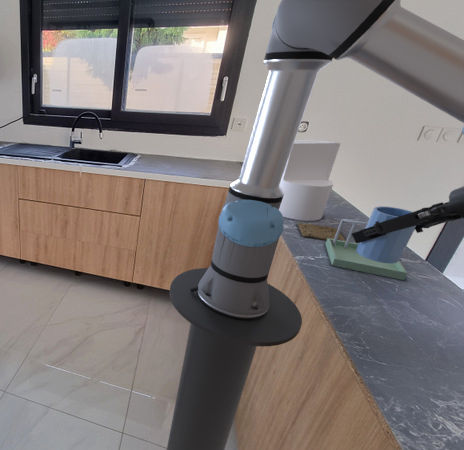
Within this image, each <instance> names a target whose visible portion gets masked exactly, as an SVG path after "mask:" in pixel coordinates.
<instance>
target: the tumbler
mask: <svg viewBox="0 0 464 450" xmlns="http://www.w3.org/2000/svg"><path fill="white" fill-rule="evenodd" d="M412 212H413V211H411V210H408V209H405V208H399V207H395V206H394V207H393V206H383V205H380V206H375V207H374V208H373V209H372V212H371V214H370V216H369V219H368V221H367V225H365V227H366V228H369V227H372V226H374V224H376V223H375V222H376V221H379V223H380V222H383V221H387V220H390V219H393V218H396V217H399V216H402V215H406V214H409V213H412ZM365 227H364V229H366V228H365ZM415 228H416V226H413V227H409V228H405V229H401V230H398V231H394V232H390V233H387V234H386V235H383V236H380V237H377V238H373V239H370V240H367V241H364V242H360V243H358V246H357V249H356V252H357V253H358V254H359V255H361V256H363V257H365V258H368V259H370V260H373V261H377V262H382V263H397V262H398V261H399V262H400V259H401V258H402V256H403V254H404V252H405V250H406V248H407V246H408V244H409V242H410V240H411V238H412V236H413V234H414V232H415V231H416V230H415Z"/></svg>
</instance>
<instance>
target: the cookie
mask: <svg viewBox="0 0 464 450" xmlns="http://www.w3.org/2000/svg"><path fill="white" fill-rule="evenodd" d="M297 225H298V229H299V231H300V234H301V236H302V237H305V238H313V239H314V238H315V239H317V240H319V239H320V240H324V241H327V238H329V239H334V238H335V235H336V232H337V230H338V228H337V227H334V226H327V225H326V226H325V225H318V224H312V223H308V222H306V223H305V222H298V223H297ZM337 240H340V241H346V240H347V239H345V237H344V235H342V233H341V232H340V234H339V236H338V239H337Z"/></svg>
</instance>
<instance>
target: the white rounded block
mask: <svg viewBox="0 0 464 450" xmlns="http://www.w3.org/2000/svg"><path fill="white" fill-rule="evenodd" d="M340 146H341V142H337V141H331V140H320V139H295V141H294V144H293V147H292V150H291V153H290V156H289V159H288V161H287V164H286V167H285V170H284V173H283V176H282V179H281V182H280V188H281V189H282V190H283V192H284V196H283V199H282V202H281V205H280V208H279V211H280V212H281V213H282V215H283V218H287V219H290V220H296V221H302V222H303V221H304V222H305V221H306V222H312V221H313V222H314V221H319V220H322V218H323V215H324V213H325V210H326V206H327V205H328V204H327V203H328V202H329V198H330V196H331V193H332V189H333V187H334V182H333V181H332V180H329V179H330V176H331V173H332V170H333V166H334V164H335V161H336V158H337V155H338V153H339V150H340Z"/></svg>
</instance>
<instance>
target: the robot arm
mask: <svg viewBox="0 0 464 450" xmlns="http://www.w3.org/2000/svg"><path fill="white" fill-rule="evenodd" d="M276 10H277V11H276V14H275V16H274V18H273V21H272V25H271V34H270V37H269V40H268V44H267V48H266V51H265V56H264V58H263V64H264V65H265V67H266V68H267V69H268V74H267V77H266V81H265V85H264V88H263V92H262V96H261V99H260V102H259V106H258V108H257V112H256V116H255V120H254V123H253V127H252V131H251V134H250V138H249V141H248V145H247V147H246V152H245V155H244V159H243V163H242V166H241V169H240V173H239V176H238V178H237V179H236V180H234V181H232V182H231V183H230V184H229V188H228V191H227V194H226V198H225V202H224V203H223V206H222V209H221V212H220V214H219V217H218V222H217V223H218V225H217V229H216V236H215V241H214V246H213V251H212V256H211V261H210V265H209V267H207V268H208V270H207V271H206V273H205V274H204V276H203V277H202V279H201V280H200V282H199V284H198V287H194V288H190V290H191V292H194V291H197V296H198V298H199V300H200V301H201V302H202V303H203V304H204V305H205V306H206V307H207V308H209V309H210V310H212V311H214V312H216V313H218V314H220V315H222V316H225V317H228V318H232V319H236V320H245V321H250V320H257V319H260V318H262V317H264V316H265V315H266V314H267V312H268V309H269V304H270V299H269V291H268V284H269V283H268V278H269V274H270V271H271V267H272V264H273V261H274V258H275V254H276V250H277V248H278V244H279V240H280V237H281V236H282V234H283V233H284V222H285V220H284V219H285V217H283V215H282V213H281V212H280V211H279V208H280V205H281V202H282V199H283V196H284V192H283V190H282V189H281V188H280V182H281V179H282V176H283V173H284V170H285V167H286V164H287V161H288V159H289V156H290V153H291V150H292V147H293V144H294V141H295V140H296V139H297V136H298V132H299V129H300V126H301V123H302V120H303V118H304V115H305V112H306V109H307V107H308V104H309V100H310V97H311V94H312V91H313V89H314V85H315V83H316V80H317V77H318V74H319V72H320V71H321V70H322V69H324V68H325V67H327V66H329V65H330V64H331V63H332V62H333V59H334V60H336V61H339V60H343V59H351V60H352V61H354V62H356V63H358V64H359V65H361V66H362V67H365V68H366V69H367V70H370V71H371V72H373V73H375V74H376V75H378V76H380V77H382V78H384V79H385V80H387V81H389V82H391V83H393V84H394V85H396V86H398V87H399V88H401V89H403V90H404V91H407V92H408V93H410V94H412V95H414V96H415V97H417V98H419V99H420V100H422V101H424V102H426V103H428V104H429V105H431V106H432V107H434V108H436V109H438V110H439V111H441V112H444V113H445V114H447V115H449V117H452V118H453V119H456V120H458V121H459V122H461V123H462V124H464V39H463V38H461V37H459V36H457V35H455V34H453V33H451V32H449V31H448V30H446V29H444V28H442V27H440V26H438V25H436V24H435V23H432V22H431V21H428V20H427V19H425V18H423V17H421V16H420V15H418V14H415V13H414V12H412V11H411V10H408V9H406V8H404V7H402V5H401V0H280V3H279V5H278V7H277V9H276ZM461 132H462V134H463V135H464V126H462V128H461ZM411 212H412V213H409V214H406V215H402V216H399V217H396V218H393V219H390V220H387V221H383V222H380V223H379V221H376V222H375V223H376V224H374V226H372V227H369V228H366V229H365V228H363V229H361V230H358V231H354V232H353V233H351V234H352V238H353V240H354V243H358V244H359V243H360V242H364V241H367V240H370V239H373V238H377V237H380V236H383V235H386V234H387V233H390V232H394V231H398V230H401V229H405V228H409V227H413V226H416V228H415V230H414V231H415V232H416V234H419V233H420V234H421V233H423V232H424V230H423V229H429V228H431V227H434V226H438V225H441V224H445V223H448V222H454V221H459V220H462V219H464V186H463V185H462V186H460V187H457V188H454V189H453V190H451V191H450V193H449V195H448V201H447V202H442V201H441V202H438V203H435V204H432V205H431V206H428V207H422V208H420V209H418V210H415V211H411ZM267 283H268V284H267Z"/></svg>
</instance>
